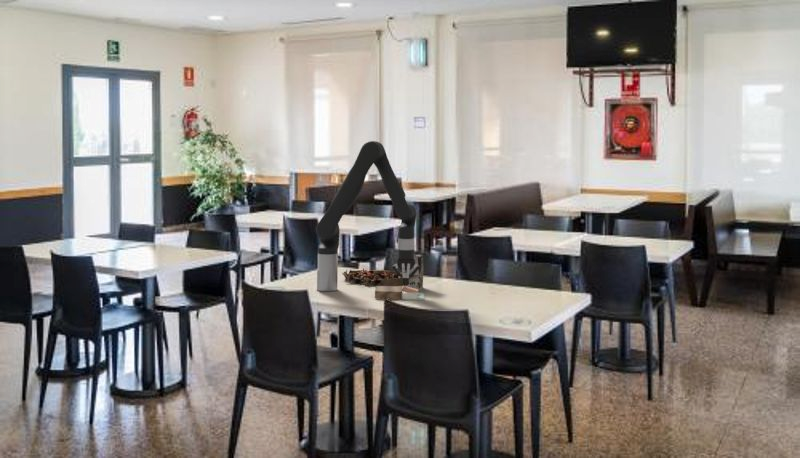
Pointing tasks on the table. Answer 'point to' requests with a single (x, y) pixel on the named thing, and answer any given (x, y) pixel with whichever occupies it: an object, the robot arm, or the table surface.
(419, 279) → the coffee box
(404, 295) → the cream card
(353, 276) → the dried twig wreath
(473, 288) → the table surface
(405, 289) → the terracotta card
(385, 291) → the deck
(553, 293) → the table surface
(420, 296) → the mat
